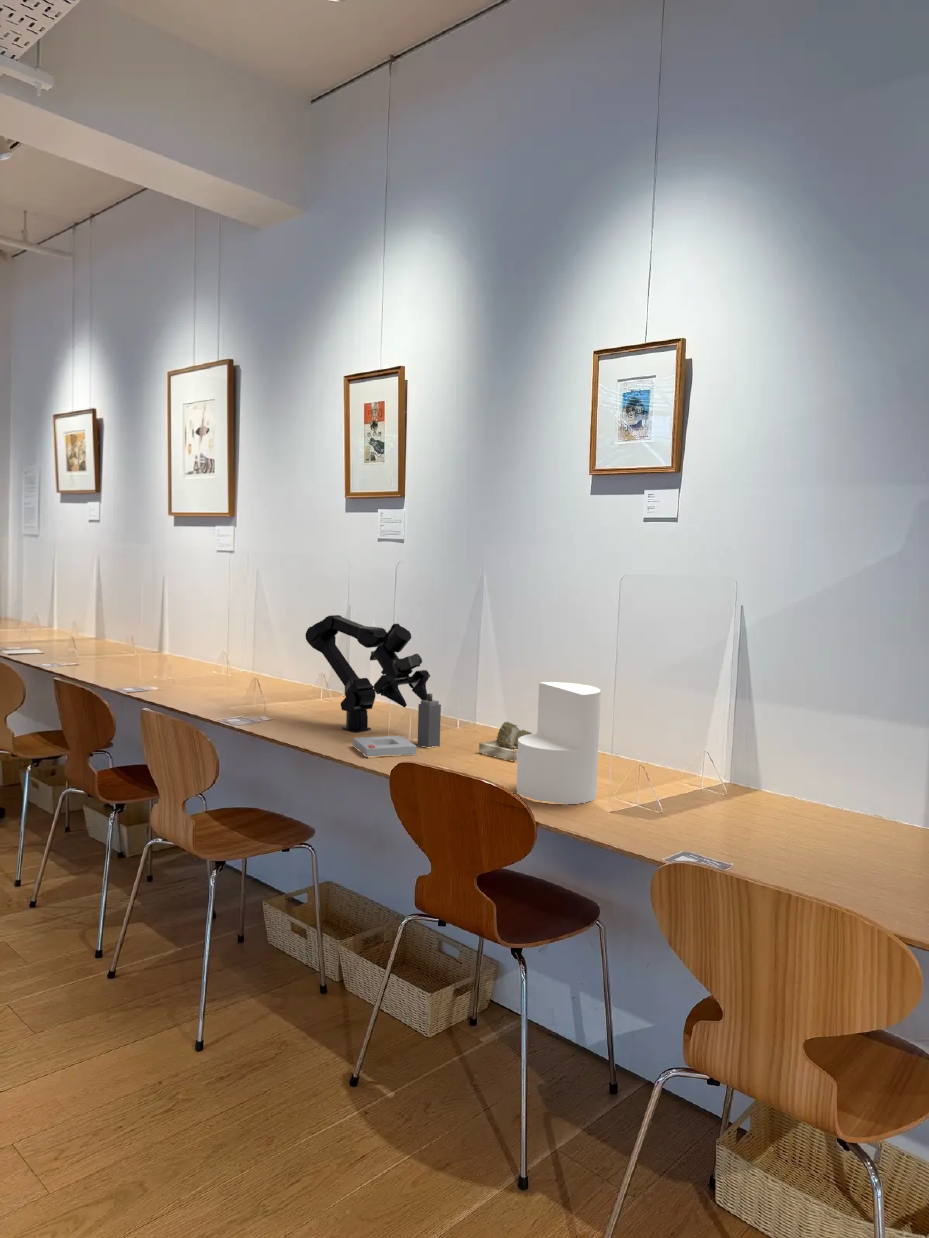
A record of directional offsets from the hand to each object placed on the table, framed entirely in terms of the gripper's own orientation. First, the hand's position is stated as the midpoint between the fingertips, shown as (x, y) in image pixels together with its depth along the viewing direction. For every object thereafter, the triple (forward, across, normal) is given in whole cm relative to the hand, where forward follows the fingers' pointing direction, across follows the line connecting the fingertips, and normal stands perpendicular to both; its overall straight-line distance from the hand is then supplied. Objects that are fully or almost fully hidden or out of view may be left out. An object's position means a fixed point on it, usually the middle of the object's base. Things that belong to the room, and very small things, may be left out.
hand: (416, 704), depth 261 cm
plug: (+12, 0, +4) cm, 12 cm away
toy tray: (+28, +13, -12) cm, 33 cm away
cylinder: (+50, -15, -33) cm, 62 cm away
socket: (+9, -14, +7) cm, 18 cm away
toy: (+28, +13, -12) cm, 33 cm away
